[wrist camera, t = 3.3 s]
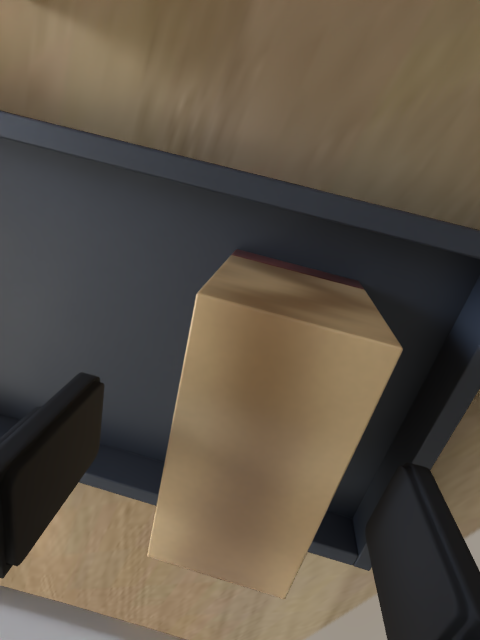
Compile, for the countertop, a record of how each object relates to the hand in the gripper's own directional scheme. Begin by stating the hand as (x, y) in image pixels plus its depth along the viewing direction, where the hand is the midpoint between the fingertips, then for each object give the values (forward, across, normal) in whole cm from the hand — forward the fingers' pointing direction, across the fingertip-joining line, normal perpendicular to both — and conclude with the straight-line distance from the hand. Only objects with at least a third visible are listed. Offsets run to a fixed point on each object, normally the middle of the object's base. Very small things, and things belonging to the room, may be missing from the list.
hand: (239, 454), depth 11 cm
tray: (+6, +5, 0) cm, 8 cm away
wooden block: (+5, 0, 0) cm, 5 cm away
